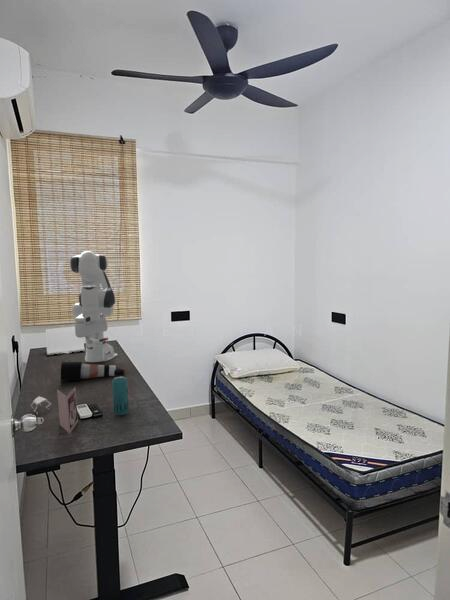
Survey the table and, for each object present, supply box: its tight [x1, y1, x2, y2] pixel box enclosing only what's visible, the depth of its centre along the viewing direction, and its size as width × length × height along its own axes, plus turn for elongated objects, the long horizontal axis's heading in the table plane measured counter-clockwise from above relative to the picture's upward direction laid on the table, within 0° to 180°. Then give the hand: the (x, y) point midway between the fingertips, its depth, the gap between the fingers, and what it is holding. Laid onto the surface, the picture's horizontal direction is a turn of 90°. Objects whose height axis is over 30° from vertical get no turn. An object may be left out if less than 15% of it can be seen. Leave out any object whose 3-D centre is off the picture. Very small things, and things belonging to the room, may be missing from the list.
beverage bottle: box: [111, 368, 130, 416], centre depth 170 cm, size 6×7×20 cm
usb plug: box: [84, 338, 103, 348], centre depth 210 cm, size 10×4×4 cm, turn 66°
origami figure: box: [30, 395, 52, 415], centre depth 181 cm, size 12×8×5 cm
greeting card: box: [56, 387, 79, 434], centre depth 160 cm, size 11×7×15 cm, turn 5°
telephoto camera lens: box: [60, 361, 126, 382], centre depth 226 cm, size 10×34×10 cm, turn 105°
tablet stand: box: [45, 326, 86, 356], centre depth 291 cm, size 18×25×17 cm
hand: (93, 342), depth 210 cm, fingers closed on usb plug, 4 cm apart
